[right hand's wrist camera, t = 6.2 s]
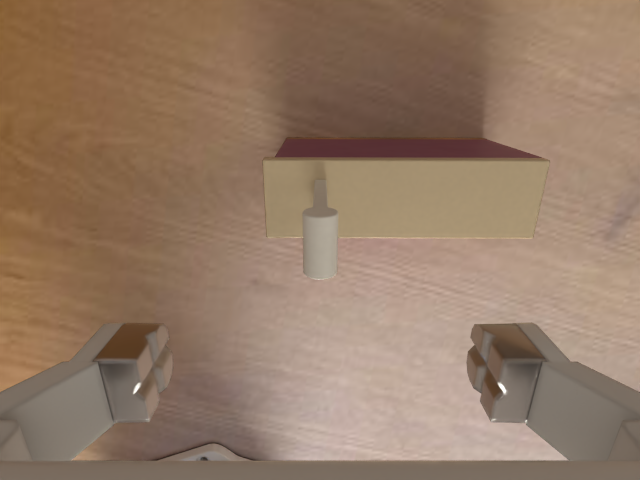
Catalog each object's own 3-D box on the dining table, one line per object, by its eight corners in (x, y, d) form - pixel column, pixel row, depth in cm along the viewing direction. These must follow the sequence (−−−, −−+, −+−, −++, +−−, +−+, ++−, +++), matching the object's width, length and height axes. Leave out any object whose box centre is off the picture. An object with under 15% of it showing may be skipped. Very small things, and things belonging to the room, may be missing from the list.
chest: (288, 195, 34) (277, 233, 25) (286, 137, 32) (274, 156, 23) (474, 196, 34) (526, 233, 25) (483, 137, 32) (542, 157, 23)
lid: (268, 233, 25) (244, 300, 17) (264, 157, 23) (235, 193, 15) (526, 233, 25) (619, 300, 17) (542, 157, 23) (654, 193, 15)
